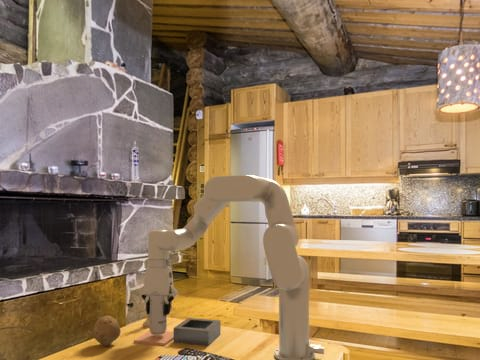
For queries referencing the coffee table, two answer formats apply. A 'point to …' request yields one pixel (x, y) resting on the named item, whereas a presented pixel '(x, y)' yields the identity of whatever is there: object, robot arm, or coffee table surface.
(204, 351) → the coffee table surface
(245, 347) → the coffee table surface
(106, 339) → the natural sponge
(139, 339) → the terracotta tile
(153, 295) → the energy drink can
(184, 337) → the frame
